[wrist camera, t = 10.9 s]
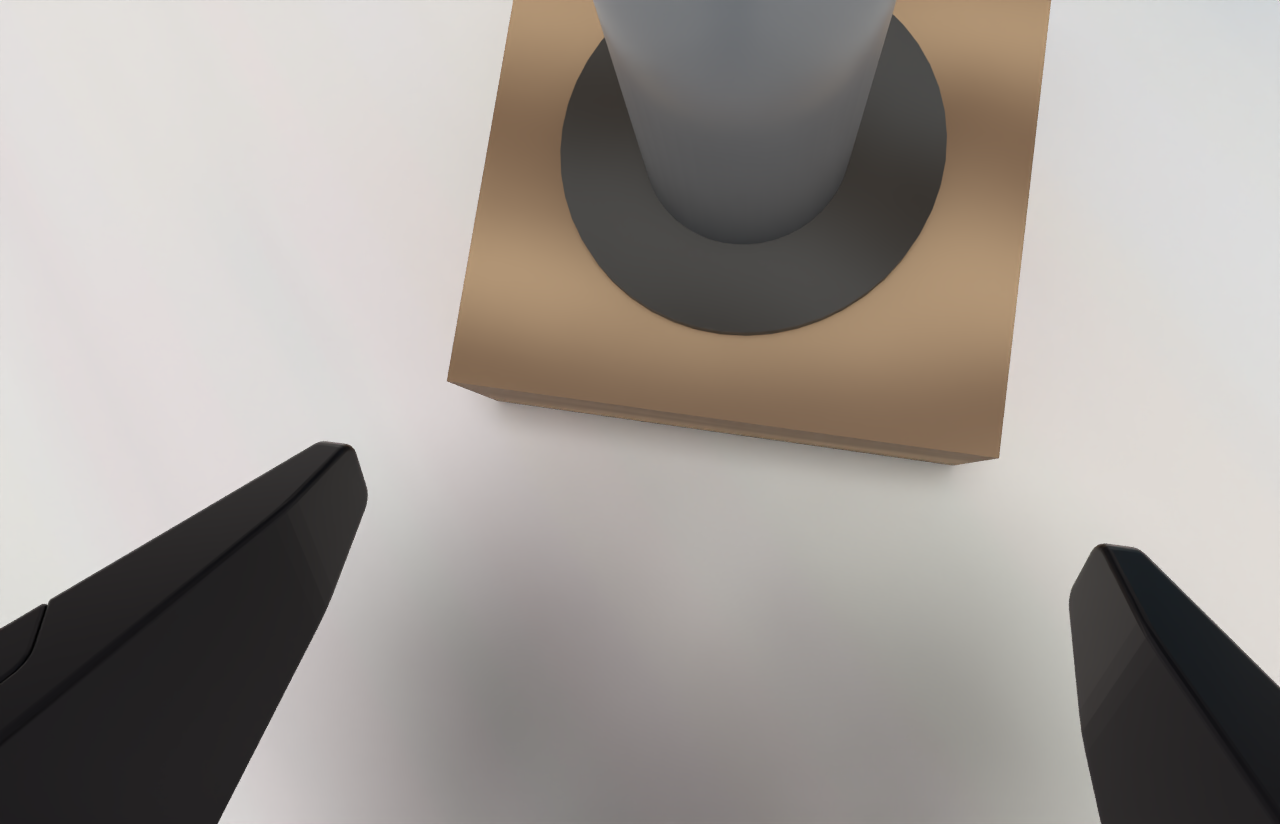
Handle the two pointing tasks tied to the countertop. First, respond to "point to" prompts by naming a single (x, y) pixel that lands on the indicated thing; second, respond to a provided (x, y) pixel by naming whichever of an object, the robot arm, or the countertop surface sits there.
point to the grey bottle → (745, 104)
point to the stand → (763, 251)
